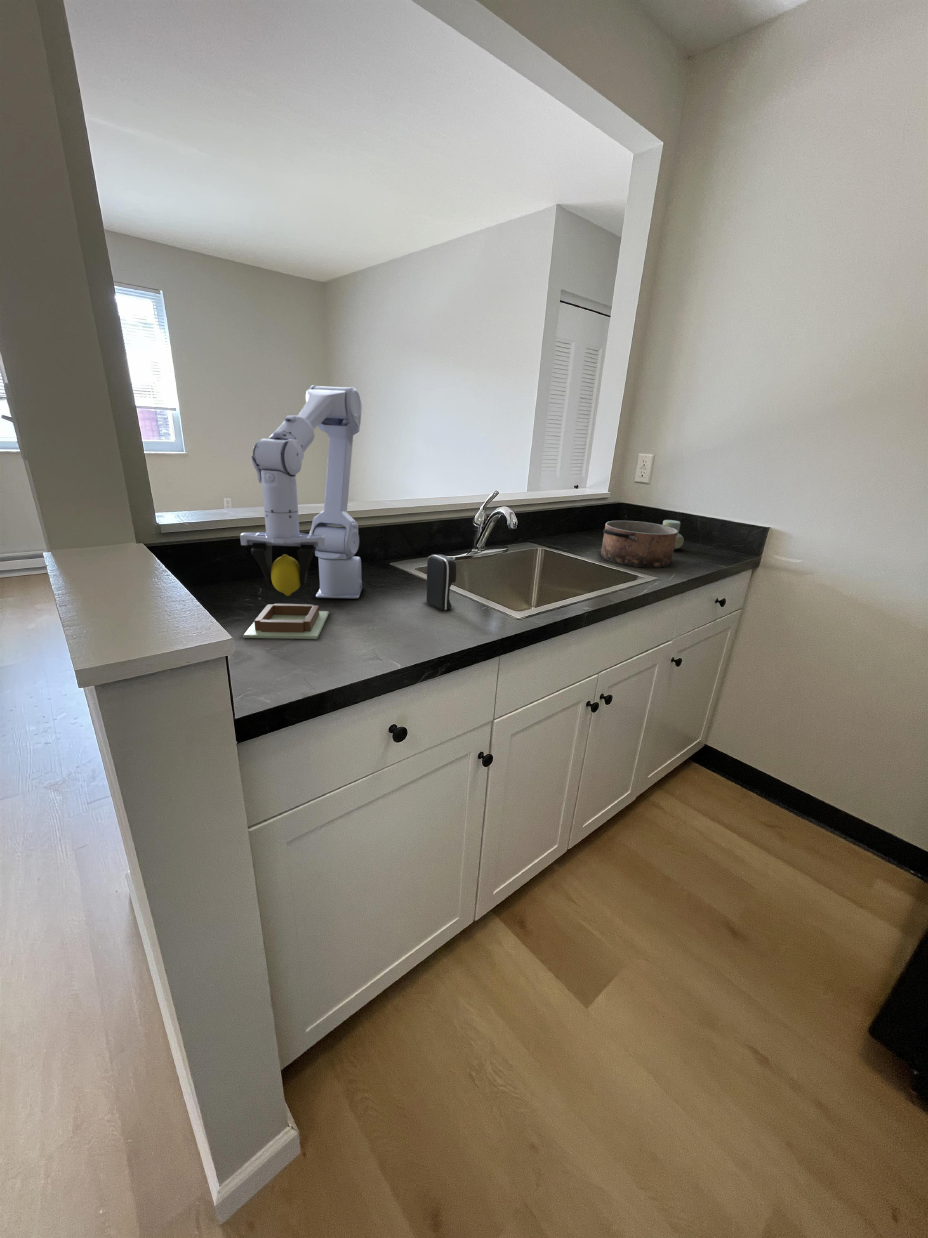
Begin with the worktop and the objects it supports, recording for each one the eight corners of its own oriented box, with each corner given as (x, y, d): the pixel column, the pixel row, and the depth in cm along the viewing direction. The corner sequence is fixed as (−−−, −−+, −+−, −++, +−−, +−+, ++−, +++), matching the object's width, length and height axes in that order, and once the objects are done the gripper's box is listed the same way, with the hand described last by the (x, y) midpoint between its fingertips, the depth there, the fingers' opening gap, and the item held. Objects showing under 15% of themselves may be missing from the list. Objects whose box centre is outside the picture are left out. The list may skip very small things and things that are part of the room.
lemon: (276, 590, 96) (273, 550, 93) (306, 591, 97) (303, 551, 94) (268, 600, 91) (265, 557, 88) (299, 600, 92) (297, 558, 89)
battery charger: (456, 609, 110) (459, 558, 105) (442, 612, 107) (445, 560, 103) (438, 600, 115) (440, 551, 111) (425, 602, 112) (426, 553, 108)
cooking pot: (635, 548, 181) (641, 518, 177) (691, 562, 164) (698, 530, 160) (578, 555, 164) (583, 523, 161) (634, 572, 148) (640, 537, 144)
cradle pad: (328, 613, 103) (328, 602, 102) (317, 639, 91) (316, 626, 90) (264, 612, 101) (262, 600, 100) (243, 638, 89) (241, 624, 88)
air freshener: (663, 544, 190) (669, 518, 186) (684, 549, 184) (690, 522, 181) (648, 547, 183) (653, 520, 180) (669, 552, 178) (675, 524, 174)
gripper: (231, 512, 84) (239, 589, 89) (318, 516, 85) (322, 591, 90) (244, 506, 90) (251, 577, 95) (325, 509, 92) (329, 579, 97)
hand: (286, 583), depth 93 cm, fingers closed on lemon, 5 cm apart
